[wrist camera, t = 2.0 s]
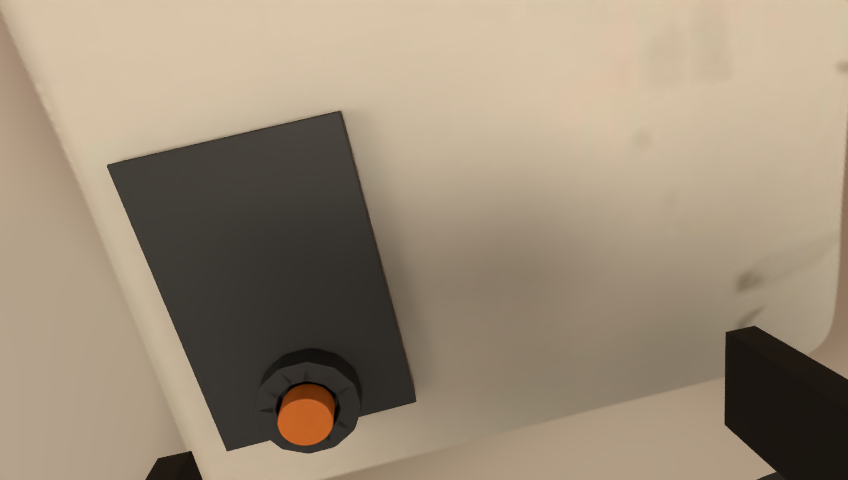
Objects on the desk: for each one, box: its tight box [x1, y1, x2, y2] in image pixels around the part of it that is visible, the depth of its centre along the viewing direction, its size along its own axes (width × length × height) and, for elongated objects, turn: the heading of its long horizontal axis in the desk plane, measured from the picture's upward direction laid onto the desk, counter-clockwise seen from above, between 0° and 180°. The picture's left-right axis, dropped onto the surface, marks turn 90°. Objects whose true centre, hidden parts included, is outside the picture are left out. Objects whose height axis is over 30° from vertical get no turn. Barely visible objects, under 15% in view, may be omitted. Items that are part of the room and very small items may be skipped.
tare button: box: [277, 384, 335, 445], centre depth 27 cm, size 3×3×2 cm
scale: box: [107, 111, 416, 454], centre depth 27 cm, size 18×12×3 cm, turn 12°
